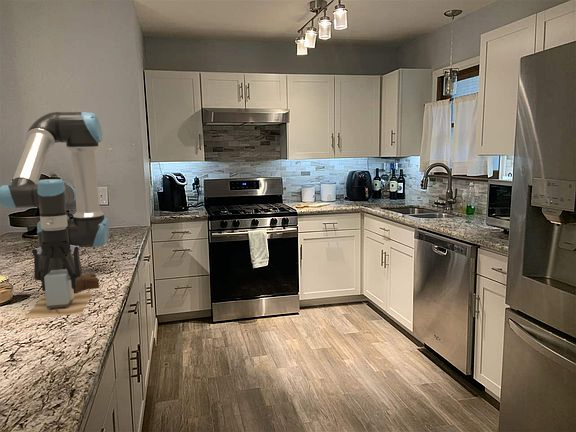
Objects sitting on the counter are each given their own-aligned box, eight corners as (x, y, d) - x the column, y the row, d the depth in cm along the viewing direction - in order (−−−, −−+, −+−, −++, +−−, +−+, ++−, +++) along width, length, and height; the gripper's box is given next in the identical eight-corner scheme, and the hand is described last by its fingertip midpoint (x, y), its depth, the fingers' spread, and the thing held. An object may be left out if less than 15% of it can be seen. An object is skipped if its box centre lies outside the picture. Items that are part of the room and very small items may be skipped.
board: (43, 297, 156) (43, 296, 156) (93, 293, 160) (93, 292, 160) (23, 320, 135) (22, 318, 135) (81, 315, 139) (81, 313, 139)
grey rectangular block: (54, 299, 151) (51, 270, 149) (73, 298, 152) (71, 268, 151) (46, 308, 142) (44, 277, 141) (67, 306, 143) (65, 275, 142)
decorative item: (65, 286, 155) (46, 273, 165) (65, 302, 157) (46, 289, 166) (108, 276, 167) (88, 265, 176) (108, 292, 169) (88, 280, 178)
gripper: (17, 232, 138) (24, 305, 141) (84, 228, 142) (90, 300, 146) (25, 228, 145) (31, 298, 148) (89, 225, 150) (94, 293, 153)
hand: (60, 299), depth 147 cm, fingers closed on grey rectangular block, 6 cm apart
